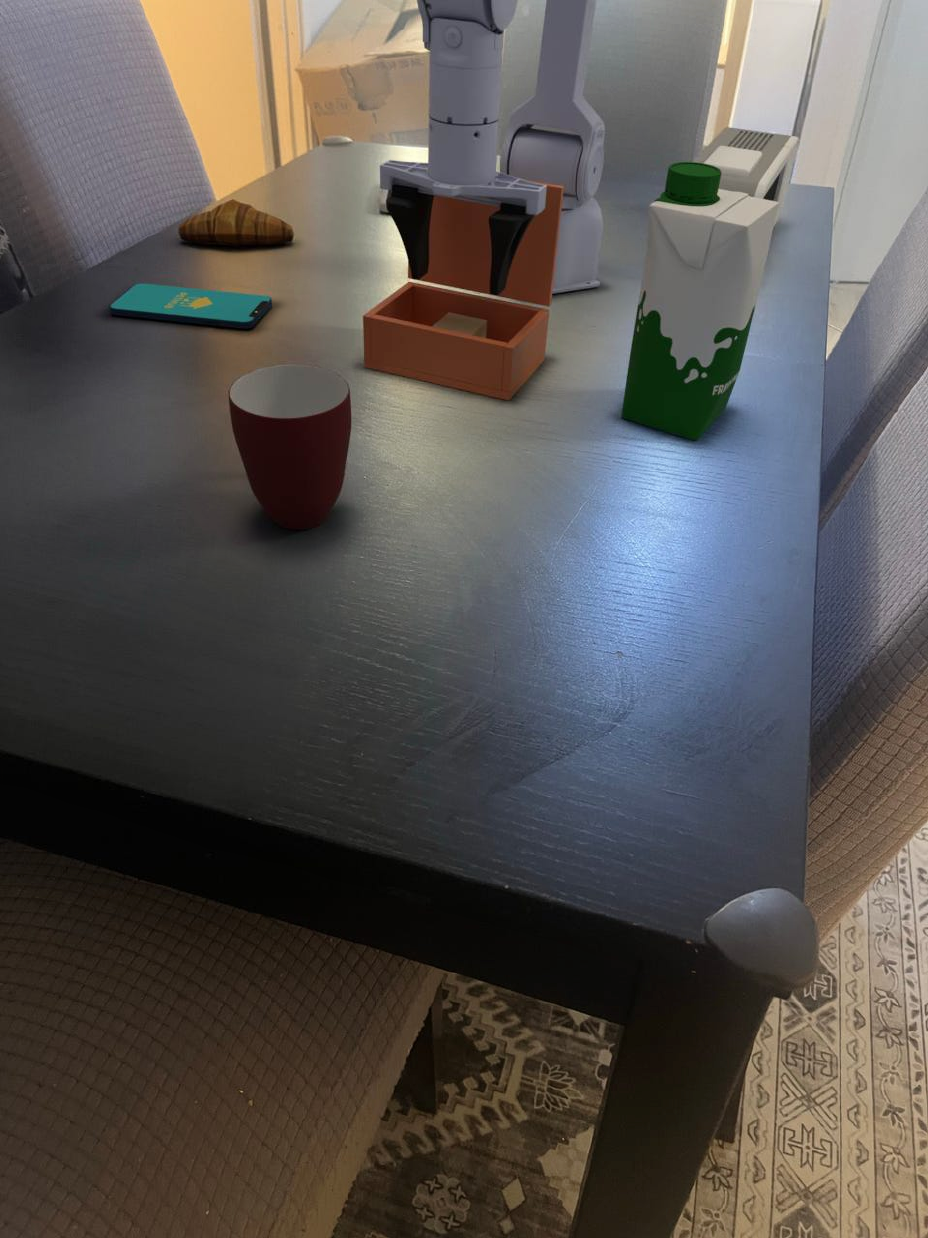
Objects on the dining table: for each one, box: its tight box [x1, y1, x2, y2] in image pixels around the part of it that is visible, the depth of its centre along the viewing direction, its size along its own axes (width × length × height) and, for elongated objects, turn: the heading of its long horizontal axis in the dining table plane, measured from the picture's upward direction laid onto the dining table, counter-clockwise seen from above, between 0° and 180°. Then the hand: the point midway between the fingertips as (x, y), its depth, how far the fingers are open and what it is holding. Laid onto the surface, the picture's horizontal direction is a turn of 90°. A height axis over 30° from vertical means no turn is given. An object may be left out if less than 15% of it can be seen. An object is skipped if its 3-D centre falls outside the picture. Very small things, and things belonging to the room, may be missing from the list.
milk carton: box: [620, 161, 779, 442], centre depth 78 cm, size 9×9×20 cm
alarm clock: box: [692, 126, 800, 227], centre depth 116 cm, size 27×9×12 cm, turn 157°
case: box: [362, 281, 550, 401], centre depth 89 cm, size 10×15×5 cm, turn 67°
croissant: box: [177, 199, 295, 247], centre depth 112 cm, size 14×7×5 cm, turn 94°
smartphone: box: [109, 283, 273, 329], centre depth 97 cm, size 7×1×15 cm
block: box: [432, 312, 487, 338], centre depth 89 cm, size 5×4×3 cm
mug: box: [228, 363, 352, 531], centre depth 68 cm, size 11×8×10 cm
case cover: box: [407, 180, 564, 307], centre depth 87 cm, size 10×15×1 cm
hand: (458, 283), depth 86 cm, fingers open, 7 cm apart
